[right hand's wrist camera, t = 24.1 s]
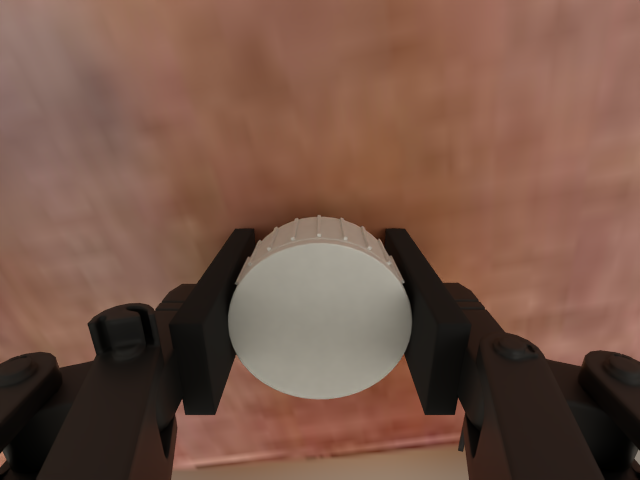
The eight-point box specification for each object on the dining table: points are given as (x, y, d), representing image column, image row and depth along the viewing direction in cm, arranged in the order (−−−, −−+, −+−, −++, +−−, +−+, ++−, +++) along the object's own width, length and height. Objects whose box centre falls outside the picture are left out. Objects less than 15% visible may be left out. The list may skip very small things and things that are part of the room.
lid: (278, 367, 13) (269, 419, 11) (215, 245, 12) (190, 278, 9) (414, 326, 13) (434, 374, 10) (371, 190, 11) (384, 212, 9)
